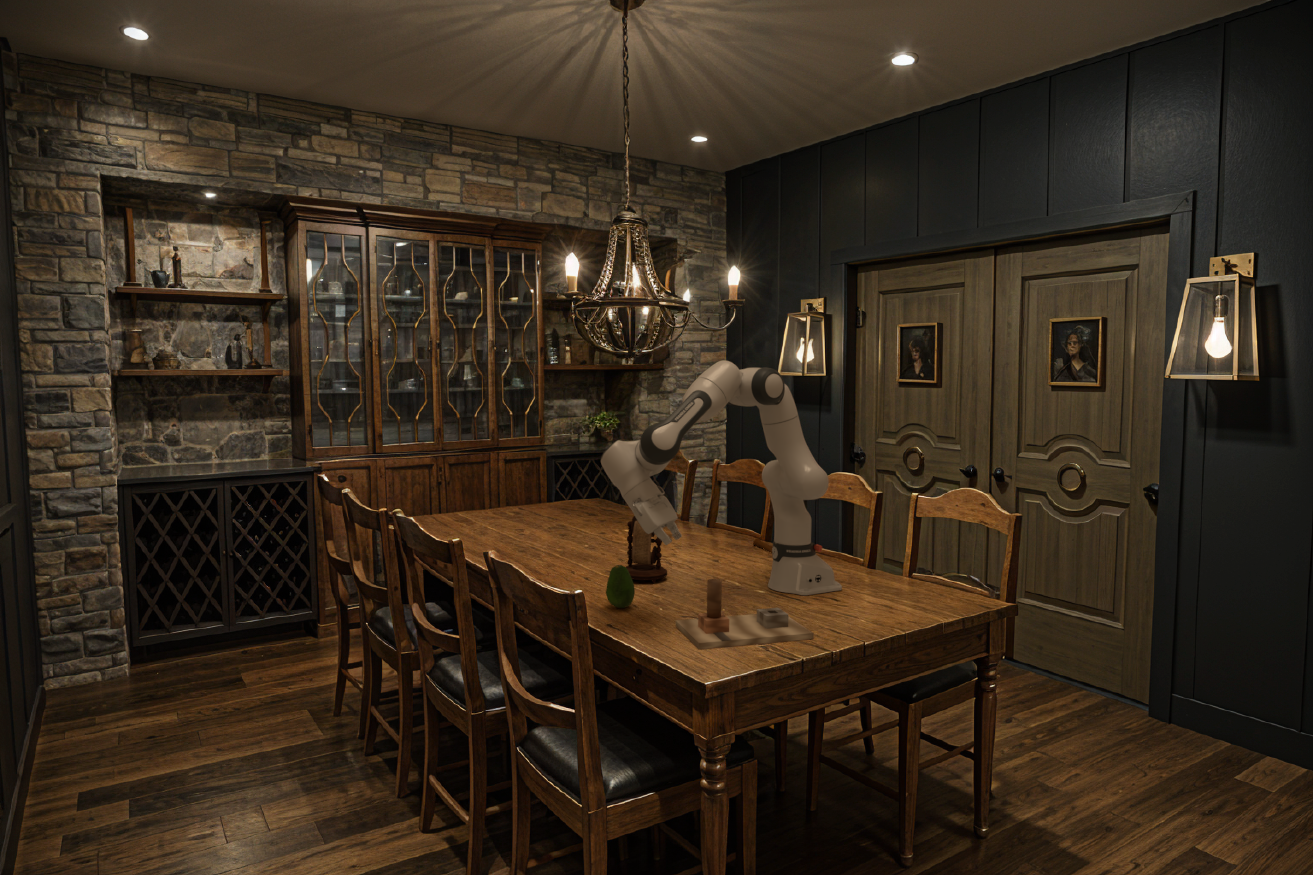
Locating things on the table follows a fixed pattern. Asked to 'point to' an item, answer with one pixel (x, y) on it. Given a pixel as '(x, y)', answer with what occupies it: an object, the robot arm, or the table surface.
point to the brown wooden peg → (714, 598)
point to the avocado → (620, 587)
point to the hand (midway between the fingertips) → (674, 540)
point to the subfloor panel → (743, 629)
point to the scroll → (643, 554)
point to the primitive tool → (762, 545)
